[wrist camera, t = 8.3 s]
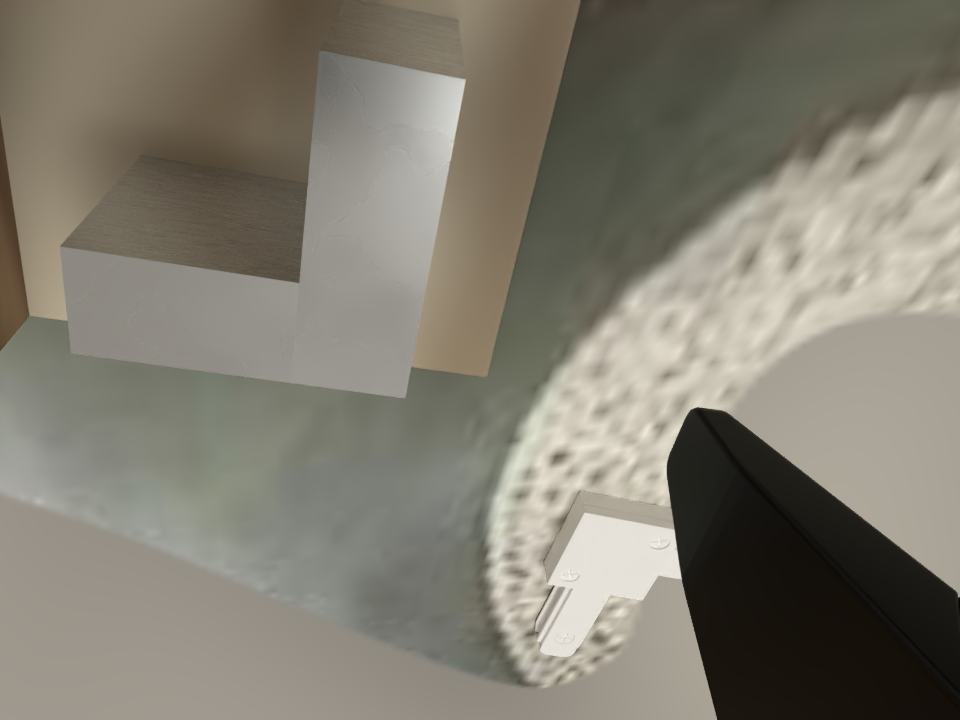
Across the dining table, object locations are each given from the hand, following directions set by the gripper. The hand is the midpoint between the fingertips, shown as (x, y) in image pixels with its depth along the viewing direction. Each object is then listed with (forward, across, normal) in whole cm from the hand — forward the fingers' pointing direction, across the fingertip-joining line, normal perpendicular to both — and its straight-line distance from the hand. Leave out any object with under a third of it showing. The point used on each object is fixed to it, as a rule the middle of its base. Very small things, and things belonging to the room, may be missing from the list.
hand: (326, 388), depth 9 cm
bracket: (+11, +2, +1) cm, 12 cm away
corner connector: (+12, -12, +16) cm, 24 cm away
